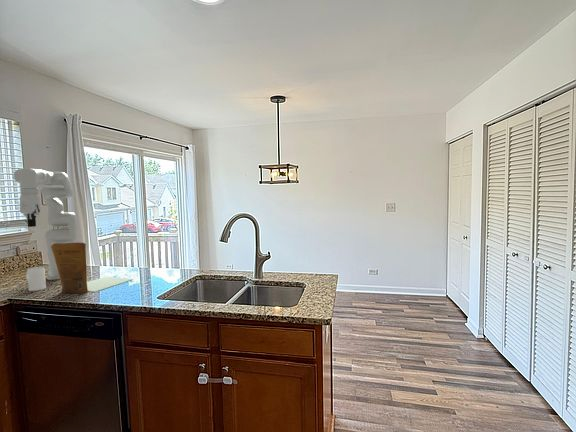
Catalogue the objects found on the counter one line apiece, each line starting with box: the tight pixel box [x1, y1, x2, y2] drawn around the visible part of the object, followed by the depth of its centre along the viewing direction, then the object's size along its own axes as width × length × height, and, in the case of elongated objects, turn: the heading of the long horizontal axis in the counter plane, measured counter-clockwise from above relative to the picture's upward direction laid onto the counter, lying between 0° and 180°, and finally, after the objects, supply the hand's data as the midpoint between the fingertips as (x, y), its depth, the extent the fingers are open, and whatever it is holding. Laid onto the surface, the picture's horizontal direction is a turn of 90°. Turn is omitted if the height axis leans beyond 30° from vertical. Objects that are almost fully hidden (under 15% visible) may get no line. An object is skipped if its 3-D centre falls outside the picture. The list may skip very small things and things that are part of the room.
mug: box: [25, 266, 47, 292], centre depth 199 cm, size 12×8×12 cm
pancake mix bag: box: [51, 242, 89, 295], centre depth 189 cm, size 7×19×28 cm, turn 81°
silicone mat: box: [87, 276, 134, 293], centre depth 206 cm, size 22×27×1 cm
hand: (32, 226), depth 184 cm, fingers closed
